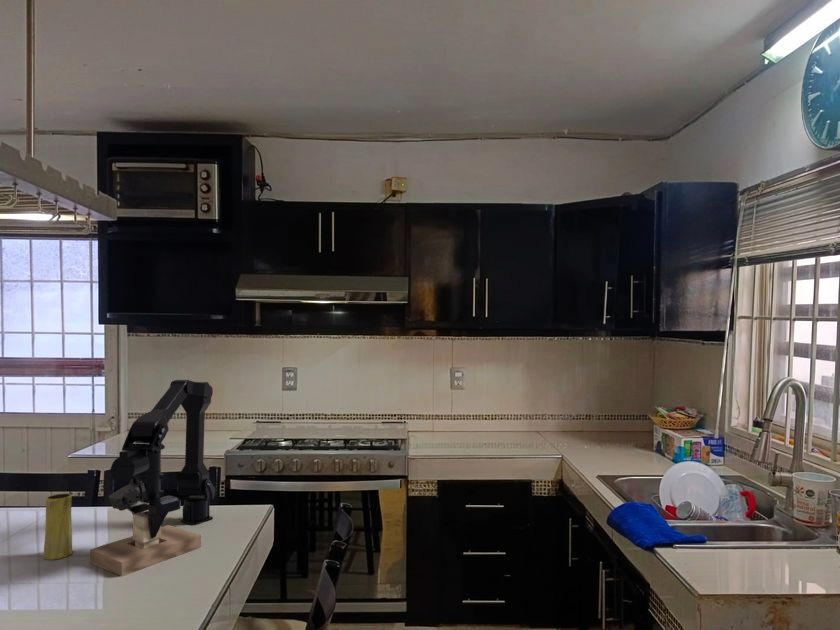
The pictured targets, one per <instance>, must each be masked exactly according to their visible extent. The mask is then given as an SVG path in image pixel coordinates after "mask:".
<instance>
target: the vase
mask: <svg viewBox="0 0 840 630" xmlns="http://www.w3.org/2000/svg"><path fill="white" fill-rule="evenodd" d="M72 496H73V495H72V494H71V493H70V492H69V493H68V492H64V493H63V492H62V493H60V492H59V493H55V494H51V495H49V496H46V499H45V527H44V531H45V532H44V544H43V556H42V558H43V559H44V560H47V561H48V560H49V561H54V560H60V559H64V558H67V557H70V556H71V555H72V554H73V553H74V549H73V528H72V527H73V526H72V525H73V523H72Z"/></svg>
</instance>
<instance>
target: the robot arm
mask: <svg viewBox="0 0 840 630" xmlns="http://www.w3.org/2000/svg"><path fill="white" fill-rule="evenodd" d="M170 382H171V383H170V384H169V388H168V389H167V390H166V391H165V393H164V394H163V395H162V397H161V398H160V399H159V400H158V402H157V403H156V404H155V405H154V407H153V408H152V409H151V410H150V411H148V412H146V413H144V414H142V415H140V416H138V417H137V418H136V419H135V420H134V421H133V422H132V424H131V426H130V428H129V430H128V433H127V436H126V437H125V440H124V442H123V445H122V448H121V451H119V454H118V456H119V457H117V458H116V459H114V461H113V462H112V464H111V466H110V475H111V476H112V478H113V479H114V480H115V481H117V482H120V483H126V482H128V481H129V483H128V484H126V485H125V486H122V487H120V489H117V490H116V491H114V492H112V493H111V494H110V495H108V499H109V502H110V504H111V506H112V509H114V510H115V509H116V510H119V511H125V510H128V511H129V512H131V513H132V515H133V514H136V513H139V512H143V511H146V510H149V511H146V512H143V514H144V515H146V516H147V517H148V521H149V532H150V538H155V537H156V535H157V533H158V531H159V529H160V527H162V525H163V523H164V521H165V519H166V517H167V516H168V513H171V512H175V511H178V510H180V509H181V502H182V501H183V505H182V518H181V519H180V522H183V523H185V524H186V523H187V524H189V525H193V526H194V525H197V524H201V523H205V522H207V521H210V520H213V516H211V515H210V508H211V507H210V506H211V505H210V502H211V501H210V500H214V497H215V494H216V488H215V486H214V484H213V483H212V481H211V480H210V472H209V470H208V468H207V467H206V465H205V463H204V454H205V453H204V451H205V450H204V449H205V418H206V417H205V415H206V414H205V413H206V411H207V409H208V408H209V407H210V405H211V403H212V396H213V391H214V390H213V386H212V385H210V383H209V382H208V381H194V380H193V381H192V380H190V379H174V380H172V381H170ZM180 406H181V407H182V408H183V411H184V412H185V413H186V417H185V418H186V420H185V450H184V451H185V454H184V455H185V456H184V457H185V458H184V466H183V467H182V469H181V471H179V472H177V475H176V479H177V482H176V491H177V496H178V497H177V496H173V495H165V490H162V489H161V486H162V485H161V483H162V481H161V480H163V479H165V474H164V473H161V471H162V468H161V467H162V450H164V449H165V447H166V446H165V445H164V444H163V443H162V442H163V441H164V439H165V438H166V437H167V433H168V432H169V421H170V420H171V419H172V417H173V416H174V414H175V413H176V411H177V410H178V409H179V408H180Z"/></svg>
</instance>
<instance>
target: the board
mask: <svg viewBox="0 0 840 630" xmlns="http://www.w3.org/2000/svg"><path fill="white" fill-rule="evenodd" d="M199 548H202V534H198V533H196V532H192V531H188V530H187V529H186V530H185V529H183V528H179V527H176V526H172V525H170V524H167V525H164V526H161V537H160V538H159V544H156V545H153V546H150V547H147V548H144V549H140V548H137V547H135V540H134V539H133V535H131V536H128V537H125V538H123V539H119V540H116V541H113V542H109V543H106V544H103V545H100V546H96V547H94V548H93V547H92V548H90V549H89V563H90V564H93V565H95V566H98V567H100V568H101V569H104V570H106V571H108V572H111V573H113V574H116V575H118V576H120V577H123V576H127V575H129V574H131V573H134V572H137V571H139V570H143V569H146V568H148V567H151V566H155V565H156V564H159V563H162V562H164V561H167V560H169V559H173V558H176V557H178V556H180V555H183V554H187V553H189V552H192V551H195V550H197V549H199Z"/></svg>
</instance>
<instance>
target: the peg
mask: <svg viewBox="0 0 840 630" xmlns="http://www.w3.org/2000/svg"><path fill="white" fill-rule="evenodd" d="M146 511H149V510H146ZM146 511H143V512H146ZM143 512H139V513H136V514H132V516H133V517H132V536H133V539H134V540H135V547H137V548H140V549H144V548H147V547H150V546H153V545H156V544H159V538H160V537H161V527H162V526H161V527H160V529H159V531H158V533H157V535H156V537H155V538H150V532H149V521H148V517H147V516H146V515H144V514H143Z"/></svg>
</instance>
